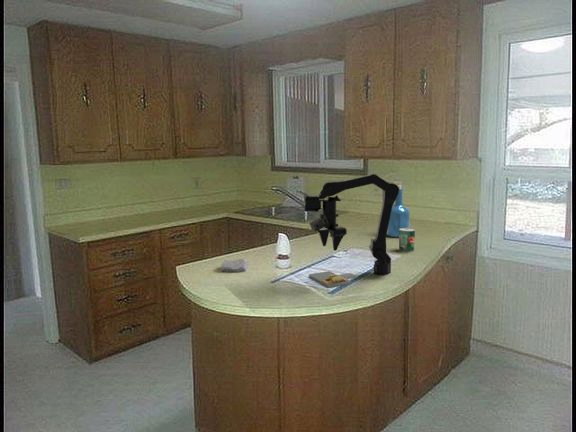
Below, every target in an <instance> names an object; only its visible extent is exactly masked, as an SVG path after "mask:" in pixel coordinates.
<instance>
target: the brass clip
mask: <svg viewBox="0 0 576 432" xmlns="http://www.w3.org/2000/svg"><path fill="white" fill-rule="evenodd" d="M338 275H339V274H337V273H335V275H328V282H329V283H331V284H335V283H341V282H342V277H341V276H338Z"/></svg>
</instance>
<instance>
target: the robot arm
mask: <svg viewBox="0 0 576 432" xmlns="http://www.w3.org/2000/svg"><path fill="white" fill-rule="evenodd" d="M369 185H374V186H376V187H378V188H379V189H381V190H382V191H381V198H382V205H381V211H380V215H379V220H378V225H377V228H376V234H375V237H374V238H370V244H369V246H368V249H370V253H371V255H372V257H373V258H375V259H376V260H374V261H373V262H374V264H373V275H376V276H387V275H389V274H392V272H391V271H392V258H391V256H390V254H389V253H387V236H388V235H387V230H388V225H389V220H390V215H391V211H392V206H393V205H395V200H396V198H397V196H398V193H399V188H398V186H399V185H397V184H396V183H394V182H392V181H386V180H385V179H383V178H381V177H380V176H378V174H375V173H370V174H367V175H366V174H365V175H362V176H357V177H354V178H350V179H345V180H329V181H328V180H327V181H325V182H324V183H323V184H322V188H321V189H322V190H321V191H320V192H319V193H318V195H305V196H304V197H305V200H304V201H305V202H304V213H318V212H319V211H320V210H322V213H320V215H319V218H316V219H314V220H312V221H311V222H309V226H310V229H311V231H315V232H317V234H318V235H319V237H320V240H321V244H322V247H326V246H327V242H328V239H329V237H330V238H331V240H332V248H333V251H335V252H336V251H337V250H338V247H339V246H340V243H341V242H342V240H343V239H344V236H346V235H347V234H348V230H347V228H346V227H344V226H339V224H338V223H337V217H339V214H338V213H337V202H341V201H342V199H341V198H340V197H339V196H338V194H339V193H342V192H344V191H348V190H350V189H354V188H355V189H356V188H360V187H363V186H369Z"/></svg>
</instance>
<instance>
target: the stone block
mask: <svg viewBox="0 0 576 432" xmlns="http://www.w3.org/2000/svg"><path fill="white" fill-rule="evenodd" d="M220 270H221V272H228V273H229V272H231V273H243V272H244V273H245V272H247V271H248V260H247V259H245V258H239V259H235V260H228V259H226V260H224V261H222V263H221V265H220Z"/></svg>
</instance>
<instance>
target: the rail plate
mask: <svg viewBox="0 0 576 432" xmlns="http://www.w3.org/2000/svg"><path fill="white" fill-rule="evenodd" d="M335 274H336V273H335V272H332V271H330V270H328V271H321V272H315V273H309V274H308V277H309V278H310V279H312V280H314V281H316V282H318V283H320V284H321V285H322V286H325V287H326V288H328V289H329V288H335V287H341V286H343V287H344V286H347V285H351V284H352V281H351V280H350V279H345V278H343V277H342V282H341V283H335V284H331V283H329V282H328V275H335ZM337 275H338V276H339V275H340V274H337Z"/></svg>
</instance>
